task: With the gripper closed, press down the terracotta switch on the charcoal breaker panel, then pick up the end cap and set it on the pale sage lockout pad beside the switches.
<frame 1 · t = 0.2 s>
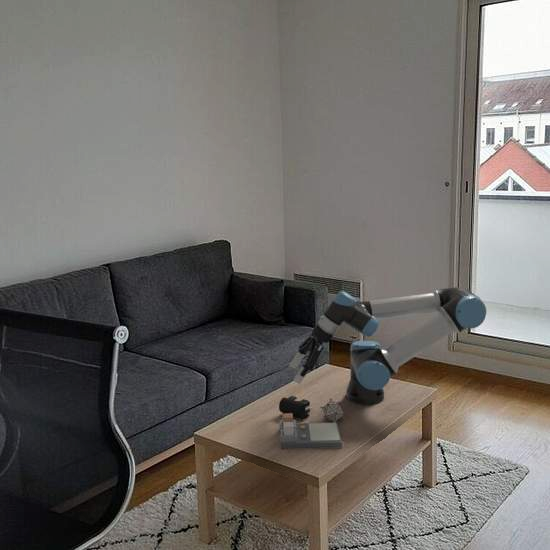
hand: (294, 374, 251), 16 cm above the table, tool tilted 35°, fingers open, 13 cm apart
breaker panel: (309, 438, 234), on the table
terracotta switch: (287, 420, 237), point 5 cm above the table, slide at 0.0 cm
end cap: (294, 416, 252), on the table
game die: (333, 421, 247), on the table
off-white switch: (288, 428, 230), point 5 cm above the table, slide at 0.0 cm
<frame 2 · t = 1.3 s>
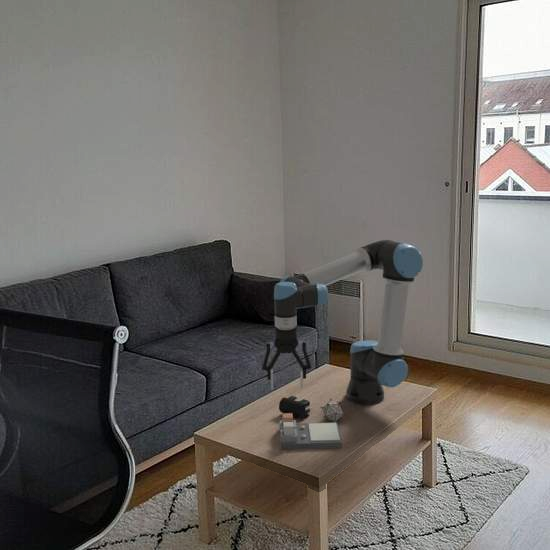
hand: (287, 387, 234), 18 cm above the table, tool pointing down, fingers open, 10 cm apart
nothing on the table moved.
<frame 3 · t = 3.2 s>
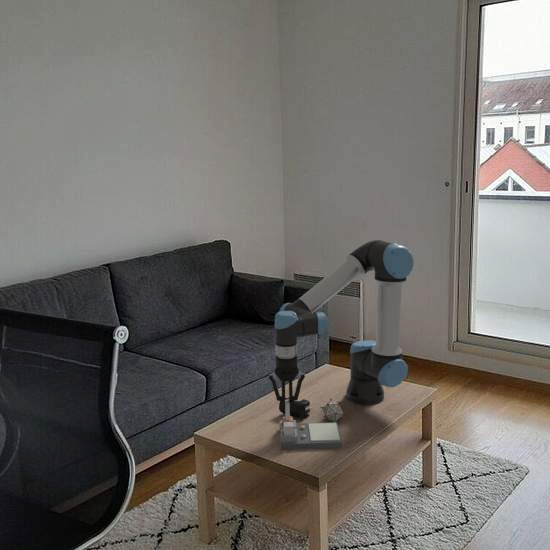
hand: (287, 418, 236), 6 cm above the table, tool pointing down, fingers closed
terracotta switch: (288, 423, 237), point 4 cm above the table, slide at 1.3 cm, touching gripper
everything else where it was.
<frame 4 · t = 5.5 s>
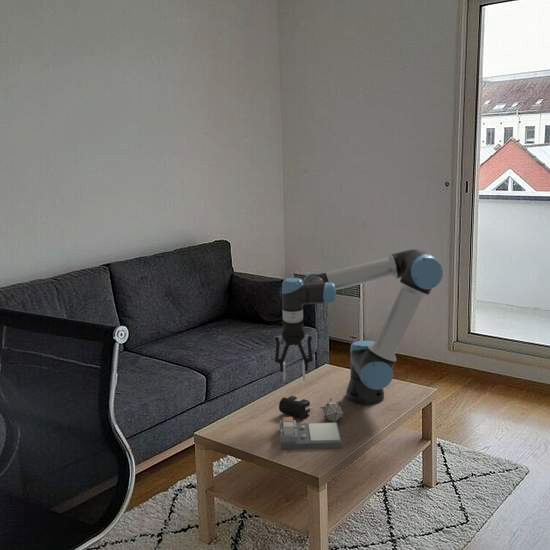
hand: (294, 379, 249), 15 cm above the table, tool pointing down, fingers open, 7 cm apart
terracotta switch: (288, 423, 237), point 4 cm above the table, slide at 1.4 cm
everything else where it was.
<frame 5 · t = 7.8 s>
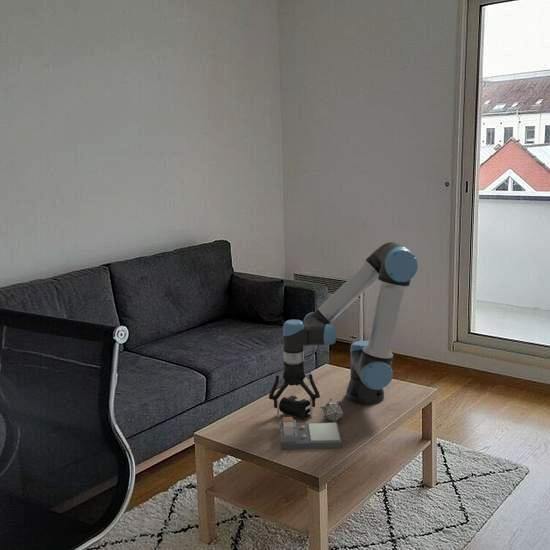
hand: (294, 415, 252), 0 cm above the table, tool pointing down, fingers closed on end cap, 12 cm apart
end cap: (295, 416, 252), on the table, touching gripper
everything else where it was.
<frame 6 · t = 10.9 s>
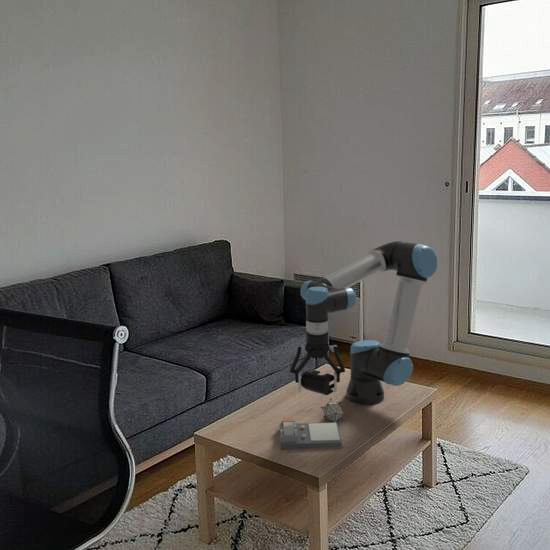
hand: (317, 390, 233), 17 cm above the table, tool pointing down, fingers closed on end cap, 12 cm apart
end cap: (317, 392, 234), point 16 cm above the table, touching gripper
everything else where it was.
when the fingers open (4 cm above the table, at t = 14.2 s): end cap drops 1 cm, resting on breaker panel.
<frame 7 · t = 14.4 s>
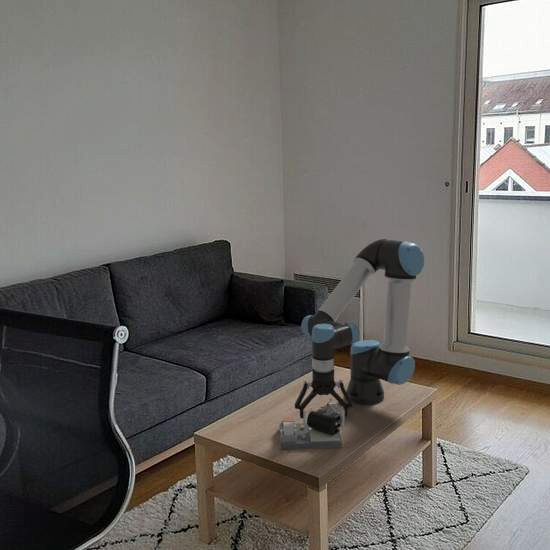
hand: (323, 425, 233), 4 cm above the table, tool pointing down, fingers open, 13 cm apart
end cap: (324, 431, 234), point 2 cm above the table, touching breaker panel
everything else where it was.
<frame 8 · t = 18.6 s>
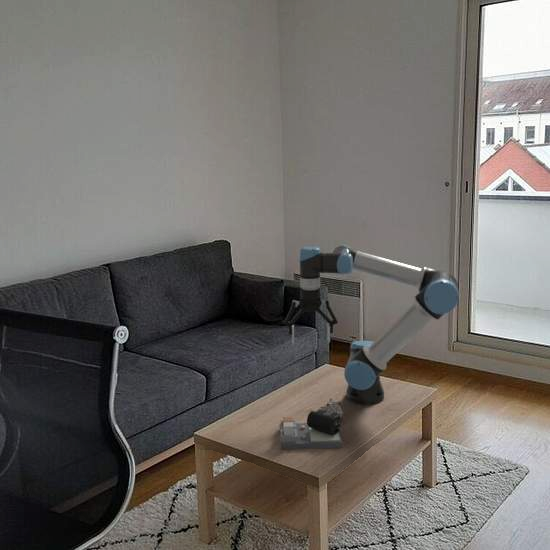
hand: (311, 341, 254), 27 cm above the table, tool pointing down, fingers open, 13 cm apart
nothing on the table moved.
at the end: terracotta switch slide at 1.4 cm; off-white switch slide at 0.0 cm; end cap inside the target area (0.1 cm from its centre), point 2.2 cm above the table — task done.
